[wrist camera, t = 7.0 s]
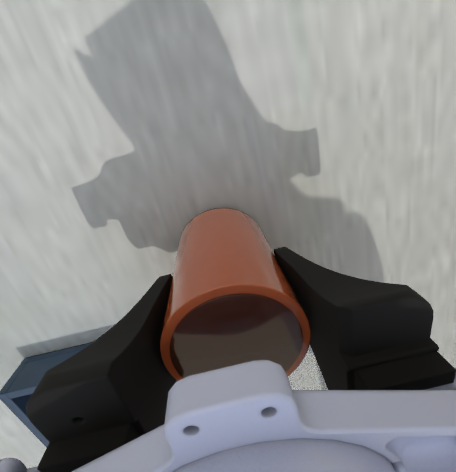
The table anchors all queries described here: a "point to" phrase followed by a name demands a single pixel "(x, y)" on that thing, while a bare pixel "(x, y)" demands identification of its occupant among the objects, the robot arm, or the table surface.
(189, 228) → the terracotta cup
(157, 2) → the table surface
